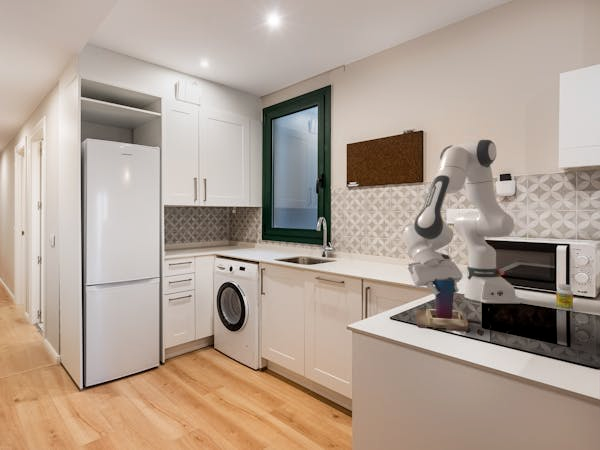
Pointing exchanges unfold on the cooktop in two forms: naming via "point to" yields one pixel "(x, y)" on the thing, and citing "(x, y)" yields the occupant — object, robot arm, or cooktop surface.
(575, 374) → the cooktop surface
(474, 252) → the robot arm
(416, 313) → the light wooden shallow tray
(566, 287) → the supplement bottle
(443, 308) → the cup
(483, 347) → the cooktop surface
